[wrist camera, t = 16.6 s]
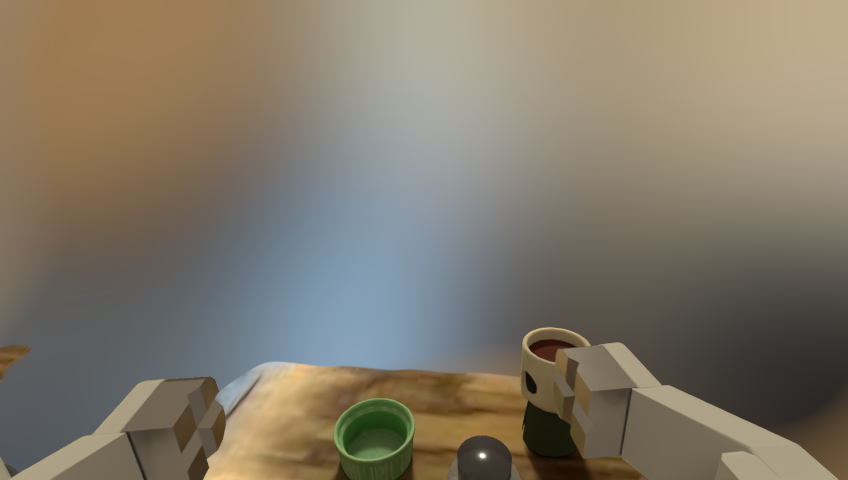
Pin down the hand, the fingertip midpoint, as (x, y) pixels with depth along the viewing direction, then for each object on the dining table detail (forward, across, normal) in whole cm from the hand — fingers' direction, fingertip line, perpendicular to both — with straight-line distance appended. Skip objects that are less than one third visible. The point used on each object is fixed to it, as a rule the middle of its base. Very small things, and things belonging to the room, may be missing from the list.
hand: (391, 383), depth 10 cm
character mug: (+27, +16, -32) cm, 45 cm away
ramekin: (+27, -4, -32) cm, 42 cm away
